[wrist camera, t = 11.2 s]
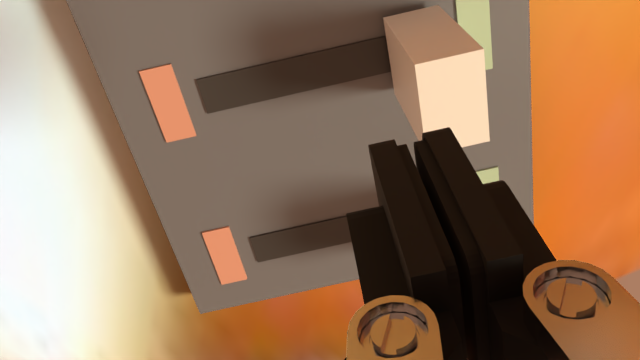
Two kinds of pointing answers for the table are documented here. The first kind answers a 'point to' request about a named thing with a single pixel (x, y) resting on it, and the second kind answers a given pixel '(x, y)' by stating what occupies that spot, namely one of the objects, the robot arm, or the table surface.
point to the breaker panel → (283, 125)
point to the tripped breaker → (438, 74)
